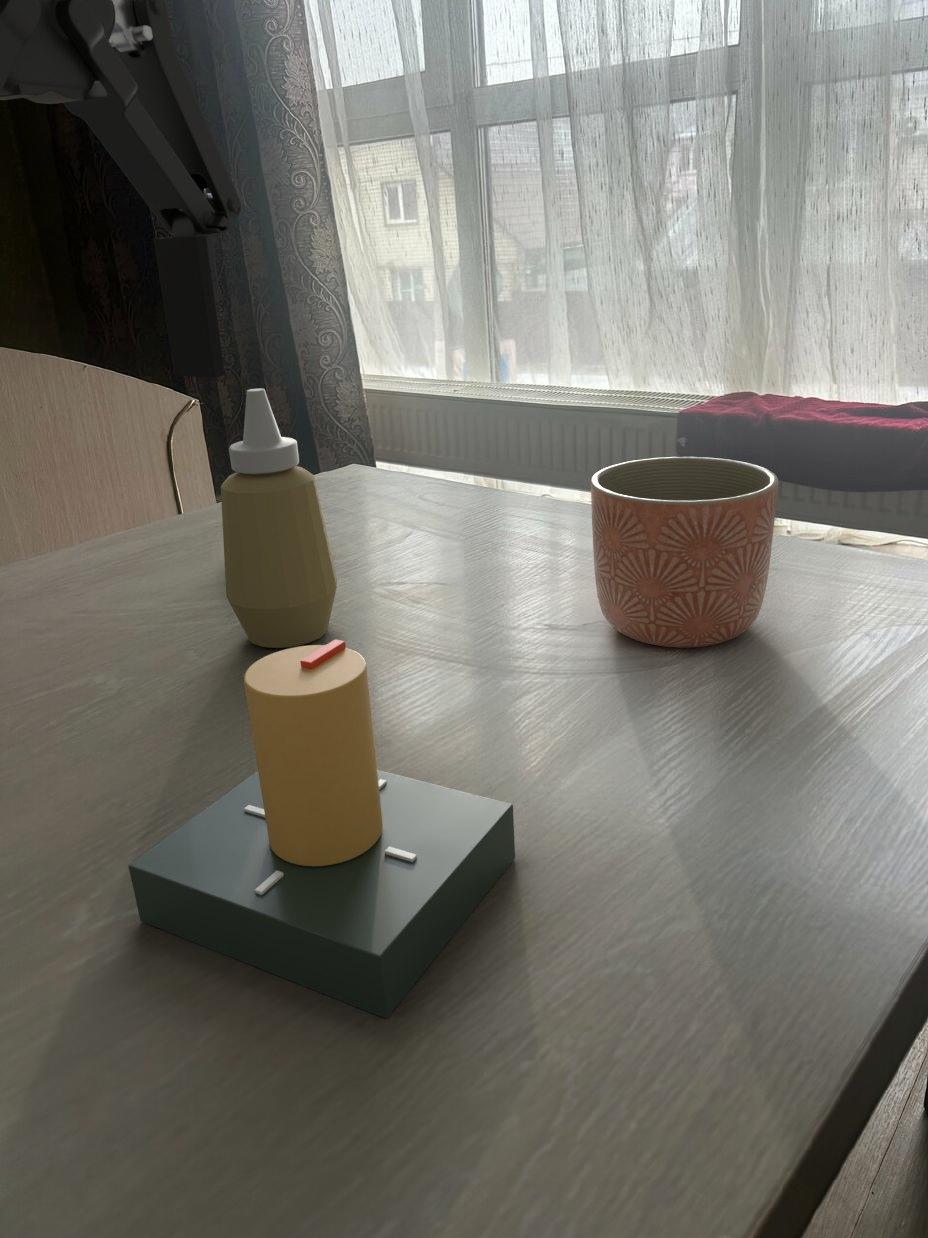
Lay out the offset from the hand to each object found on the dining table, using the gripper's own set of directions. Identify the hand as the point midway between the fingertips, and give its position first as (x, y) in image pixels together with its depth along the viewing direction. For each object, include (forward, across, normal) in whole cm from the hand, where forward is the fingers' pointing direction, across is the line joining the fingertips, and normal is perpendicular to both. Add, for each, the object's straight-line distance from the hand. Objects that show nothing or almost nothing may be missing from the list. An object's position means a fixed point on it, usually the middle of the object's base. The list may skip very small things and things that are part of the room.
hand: (93, 400), depth 43 cm
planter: (+21, -32, +18) cm, 43 cm away
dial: (+18, +2, +13) cm, 22 cm away
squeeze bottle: (+22, -21, -8) cm, 31 cm away
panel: (+21, +2, +13) cm, 25 cm away
